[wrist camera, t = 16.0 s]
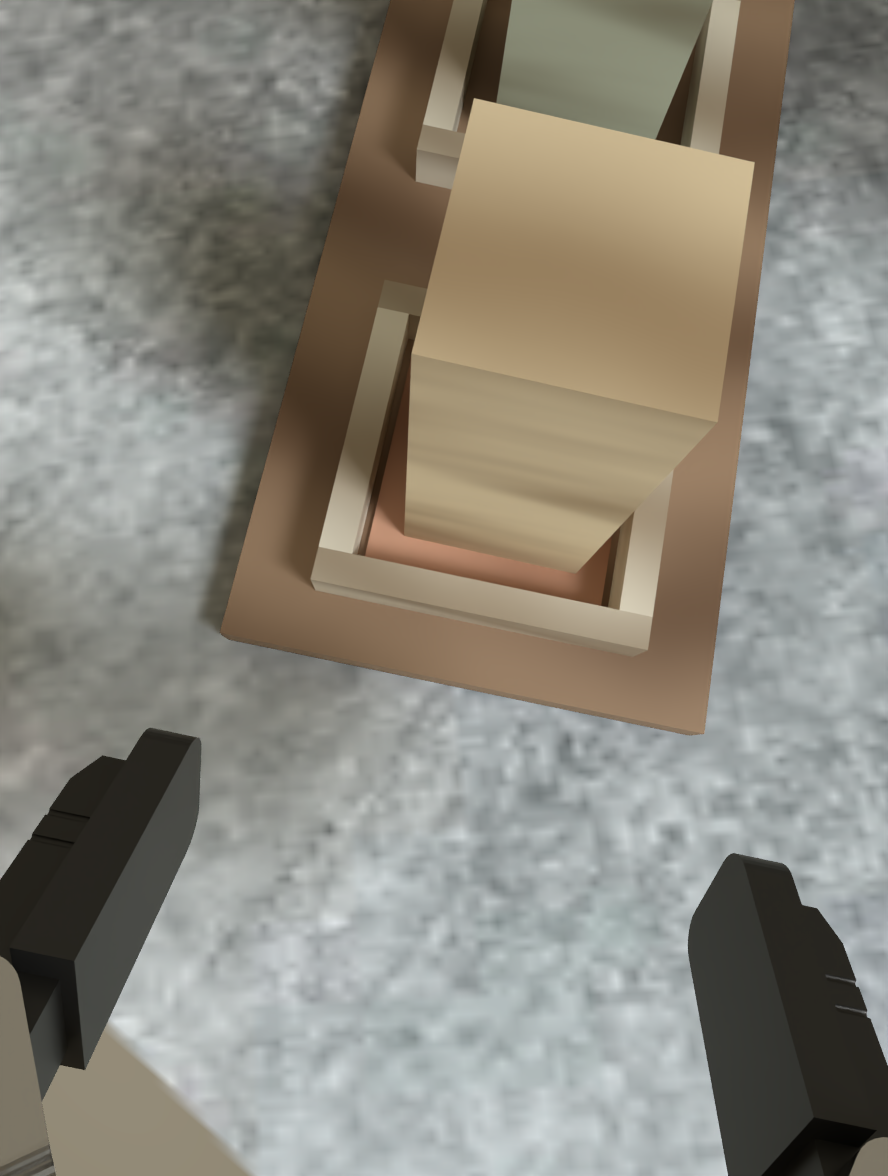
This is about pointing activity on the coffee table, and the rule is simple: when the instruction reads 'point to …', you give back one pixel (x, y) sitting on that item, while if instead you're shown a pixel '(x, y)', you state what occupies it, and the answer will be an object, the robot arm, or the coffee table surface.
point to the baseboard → (383, 371)
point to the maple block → (568, 333)
